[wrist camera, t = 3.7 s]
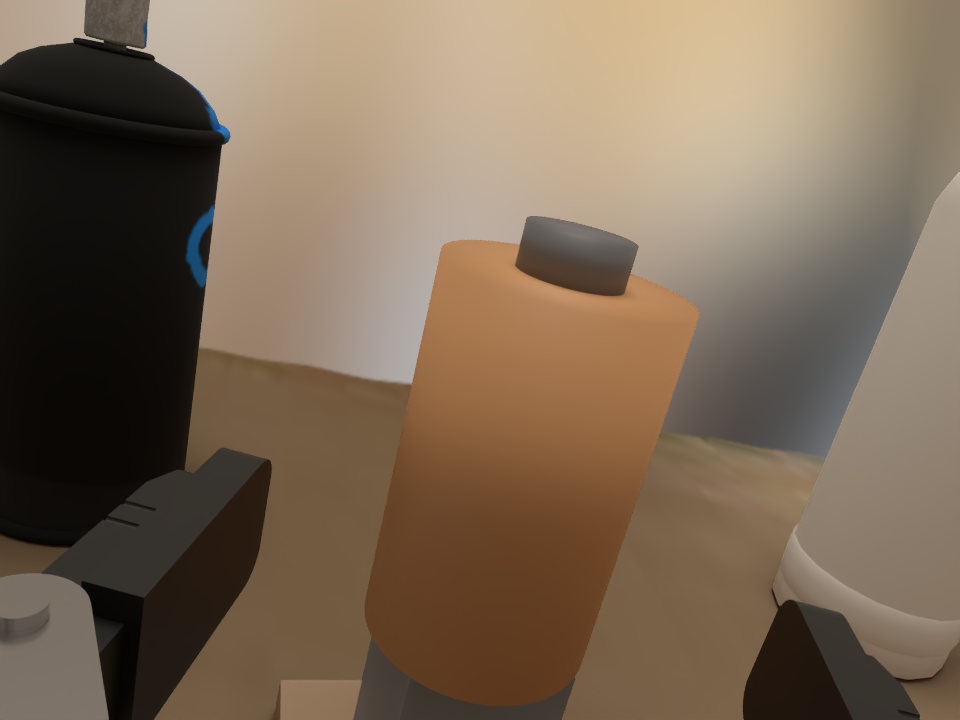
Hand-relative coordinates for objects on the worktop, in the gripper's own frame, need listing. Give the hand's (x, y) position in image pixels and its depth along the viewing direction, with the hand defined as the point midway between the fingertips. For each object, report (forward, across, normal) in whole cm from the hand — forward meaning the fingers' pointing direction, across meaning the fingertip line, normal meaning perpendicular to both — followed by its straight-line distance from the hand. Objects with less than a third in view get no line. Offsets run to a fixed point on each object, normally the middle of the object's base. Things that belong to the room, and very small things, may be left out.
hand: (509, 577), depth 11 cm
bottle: (+22, -18, +13) cm, 32 cm away
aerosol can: (+17, +17, +13) cm, 27 cm away
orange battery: (+6, 0, +6) cm, 8 cm away
